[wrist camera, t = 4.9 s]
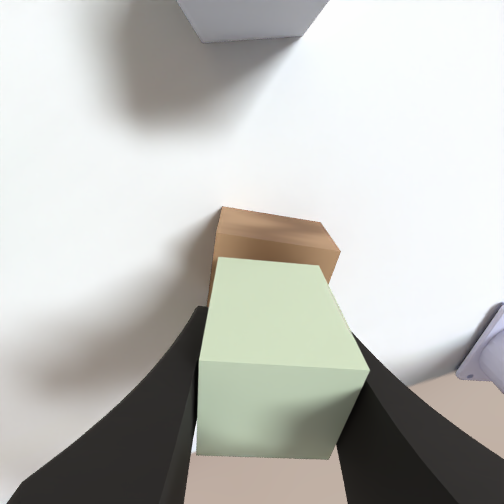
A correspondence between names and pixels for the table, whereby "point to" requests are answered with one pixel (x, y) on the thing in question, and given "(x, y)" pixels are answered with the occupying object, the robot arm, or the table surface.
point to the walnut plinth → (272, 241)
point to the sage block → (275, 363)
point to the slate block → (250, 18)
